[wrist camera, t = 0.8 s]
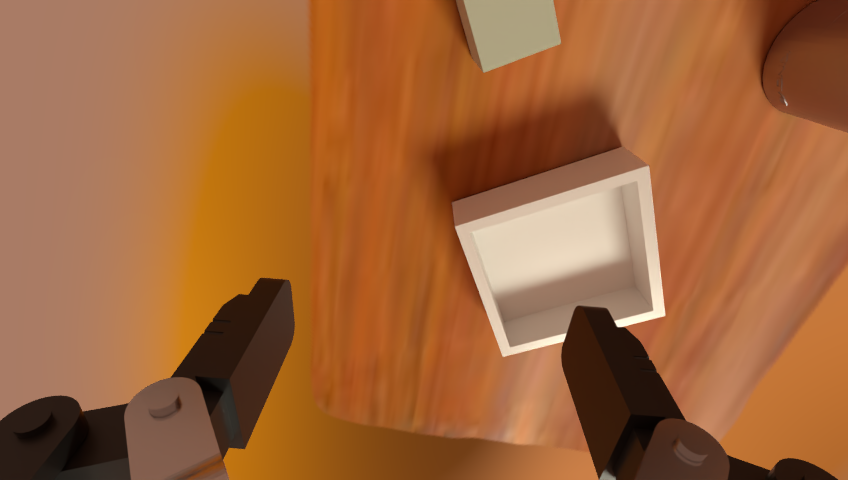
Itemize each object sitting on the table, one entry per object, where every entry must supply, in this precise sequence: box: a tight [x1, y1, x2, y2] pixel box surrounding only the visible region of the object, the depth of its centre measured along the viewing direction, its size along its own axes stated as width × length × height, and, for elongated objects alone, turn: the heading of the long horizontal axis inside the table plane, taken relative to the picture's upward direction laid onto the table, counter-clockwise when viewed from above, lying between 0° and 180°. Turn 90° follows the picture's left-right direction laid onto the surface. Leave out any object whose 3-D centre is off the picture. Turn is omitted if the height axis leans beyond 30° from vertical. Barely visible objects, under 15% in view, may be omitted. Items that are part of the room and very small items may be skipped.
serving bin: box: [452, 147, 665, 357], centre depth 40 cm, size 16×16×5 cm
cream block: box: [456, 0, 561, 73], centre depth 29 cm, size 5×5×8 cm
